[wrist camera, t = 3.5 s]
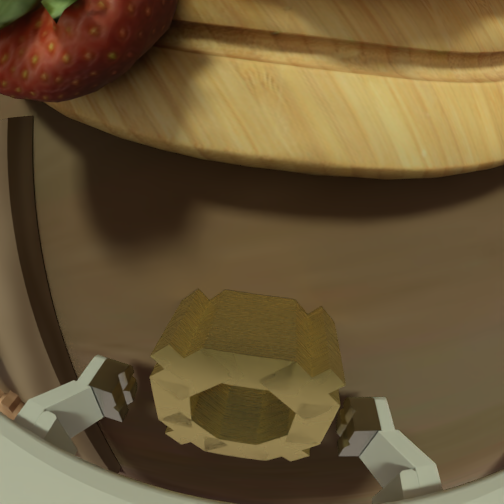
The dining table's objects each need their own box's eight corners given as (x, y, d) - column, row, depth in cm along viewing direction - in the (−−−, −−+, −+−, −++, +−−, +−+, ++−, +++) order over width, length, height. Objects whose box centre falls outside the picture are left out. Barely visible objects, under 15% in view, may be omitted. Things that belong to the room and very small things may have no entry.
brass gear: (343, 305, 10) (358, 366, 7) (307, 408, 13) (308, 463, 10) (178, 282, 11) (142, 334, 8) (183, 389, 13) (163, 441, 10)
